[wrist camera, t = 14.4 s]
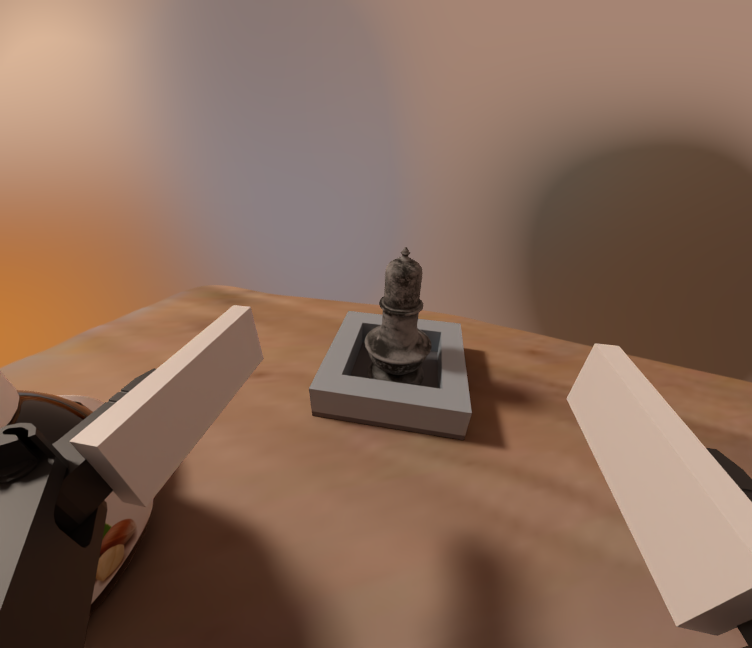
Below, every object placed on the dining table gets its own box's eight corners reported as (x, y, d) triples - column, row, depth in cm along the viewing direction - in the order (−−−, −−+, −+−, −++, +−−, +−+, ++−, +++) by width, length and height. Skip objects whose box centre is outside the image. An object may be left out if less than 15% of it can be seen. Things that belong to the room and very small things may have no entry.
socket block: (455, 346, 32) (460, 323, 31) (463, 440, 22) (471, 413, 21) (349, 333, 34) (348, 311, 32) (312, 415, 24) (308, 388, 22)
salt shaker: (429, 358, 30) (448, 239, 23) (423, 401, 25) (445, 266, 18) (372, 348, 31) (376, 232, 24) (356, 387, 26) (355, 256, 20)
